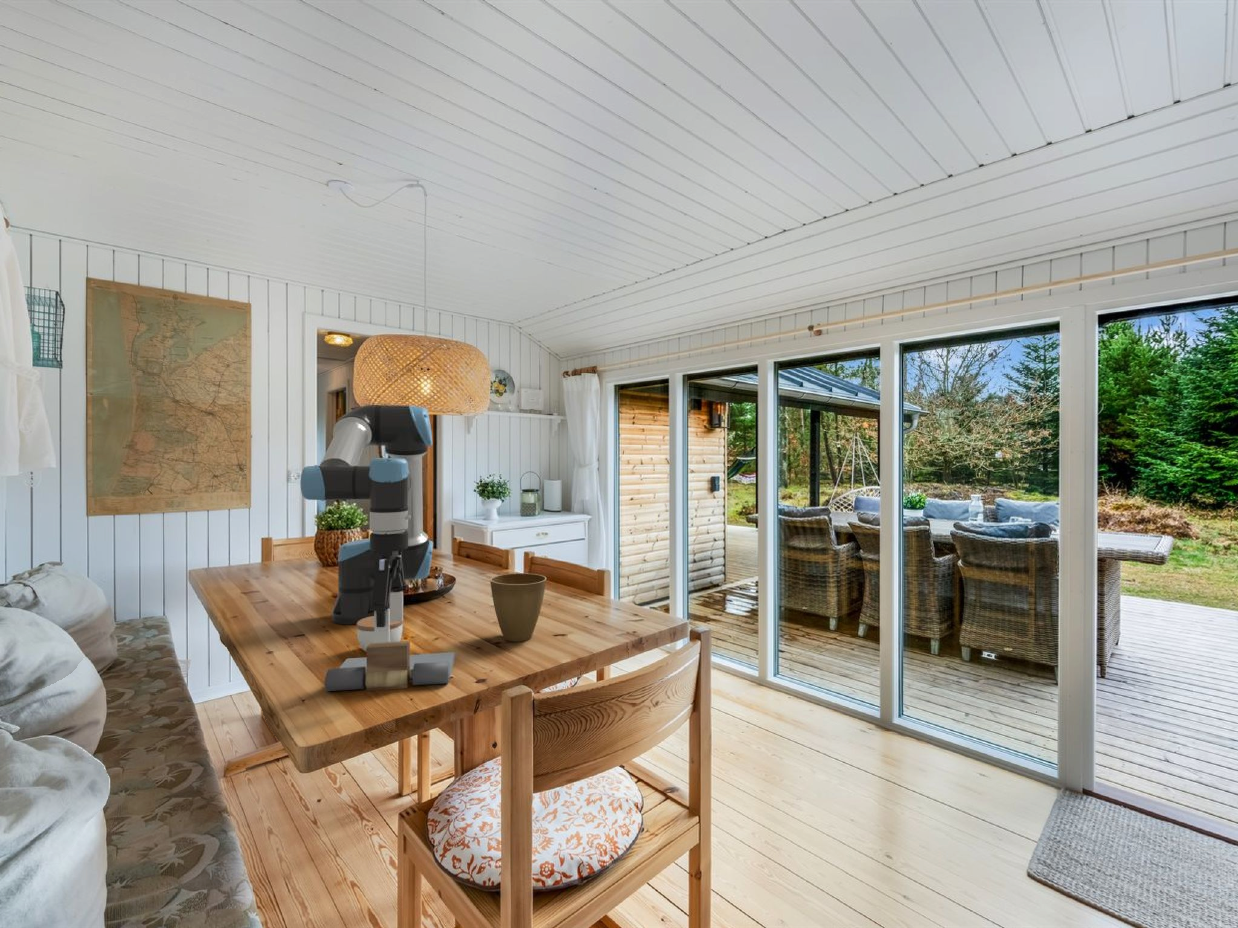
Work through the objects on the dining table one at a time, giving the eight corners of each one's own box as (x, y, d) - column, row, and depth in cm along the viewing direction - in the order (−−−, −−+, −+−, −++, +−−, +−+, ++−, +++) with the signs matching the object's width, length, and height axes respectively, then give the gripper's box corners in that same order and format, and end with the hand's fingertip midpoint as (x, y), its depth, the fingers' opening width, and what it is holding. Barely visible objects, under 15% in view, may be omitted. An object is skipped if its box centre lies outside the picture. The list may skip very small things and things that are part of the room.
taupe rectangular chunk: (371, 683, 119) (371, 641, 119) (410, 681, 121) (410, 639, 121) (365, 692, 115) (365, 648, 115) (406, 689, 117) (406, 646, 116)
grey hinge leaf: (447, 686, 118) (447, 665, 118) (324, 694, 114) (324, 673, 114) (454, 660, 133) (454, 642, 133) (347, 667, 129) (346, 648, 128)
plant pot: (535, 648, 142) (535, 585, 141) (480, 644, 145) (480, 582, 144) (553, 630, 156) (553, 573, 156) (503, 627, 159) (503, 571, 159)
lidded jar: (412, 648, 141) (412, 611, 141) (375, 661, 132) (375, 622, 132) (385, 641, 147) (385, 605, 146) (347, 653, 137) (347, 615, 137)
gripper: (395, 540, 106) (395, 650, 107) (418, 522, 130) (418, 612, 131) (353, 541, 105) (353, 653, 105) (384, 523, 129) (384, 614, 130)
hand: (389, 630), depth 118 cm, fingers open, 13 cm apart
